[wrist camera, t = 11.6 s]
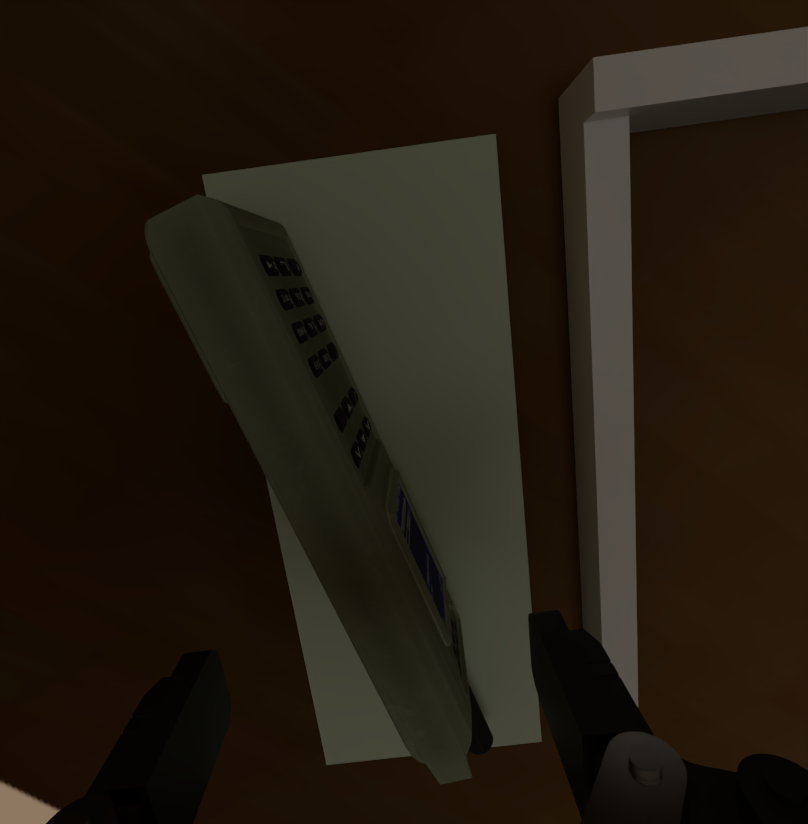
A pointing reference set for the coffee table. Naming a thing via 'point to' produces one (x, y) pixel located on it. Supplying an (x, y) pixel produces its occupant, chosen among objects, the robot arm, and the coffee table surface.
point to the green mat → (415, 405)
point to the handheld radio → (324, 465)
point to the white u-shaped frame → (612, 274)
